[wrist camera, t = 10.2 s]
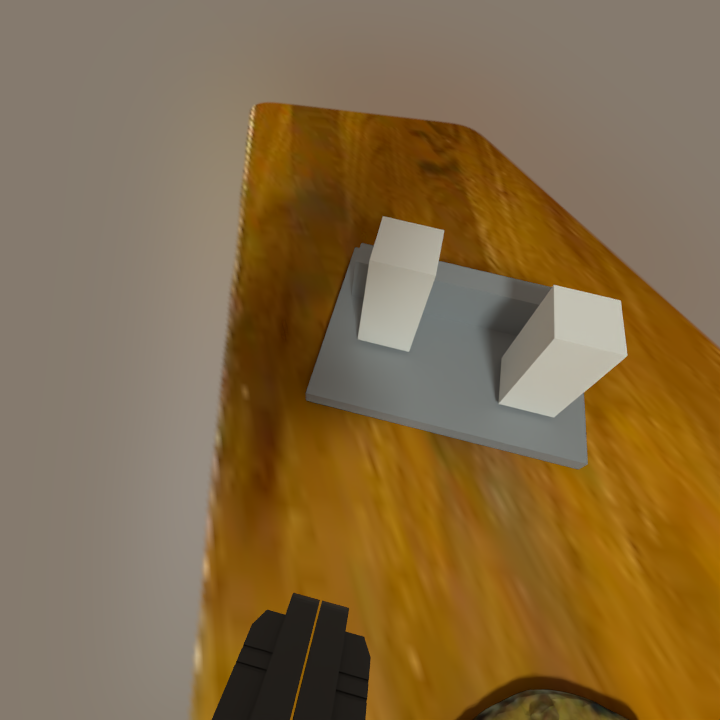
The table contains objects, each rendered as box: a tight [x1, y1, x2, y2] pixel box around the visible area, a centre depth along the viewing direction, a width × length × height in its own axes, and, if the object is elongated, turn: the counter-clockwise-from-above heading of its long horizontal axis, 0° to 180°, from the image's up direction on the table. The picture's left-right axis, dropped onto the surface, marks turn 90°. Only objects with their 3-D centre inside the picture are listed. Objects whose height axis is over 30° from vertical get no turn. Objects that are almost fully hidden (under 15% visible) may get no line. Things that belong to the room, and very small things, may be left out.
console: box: [306, 243, 588, 469], centre depth 32 cm, size 15×20×5 cm
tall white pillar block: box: [358, 216, 444, 352], centre depth 30 cm, size 4×4×8 cm
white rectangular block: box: [499, 285, 627, 417], centre depth 28 cm, size 4×4×8 cm
